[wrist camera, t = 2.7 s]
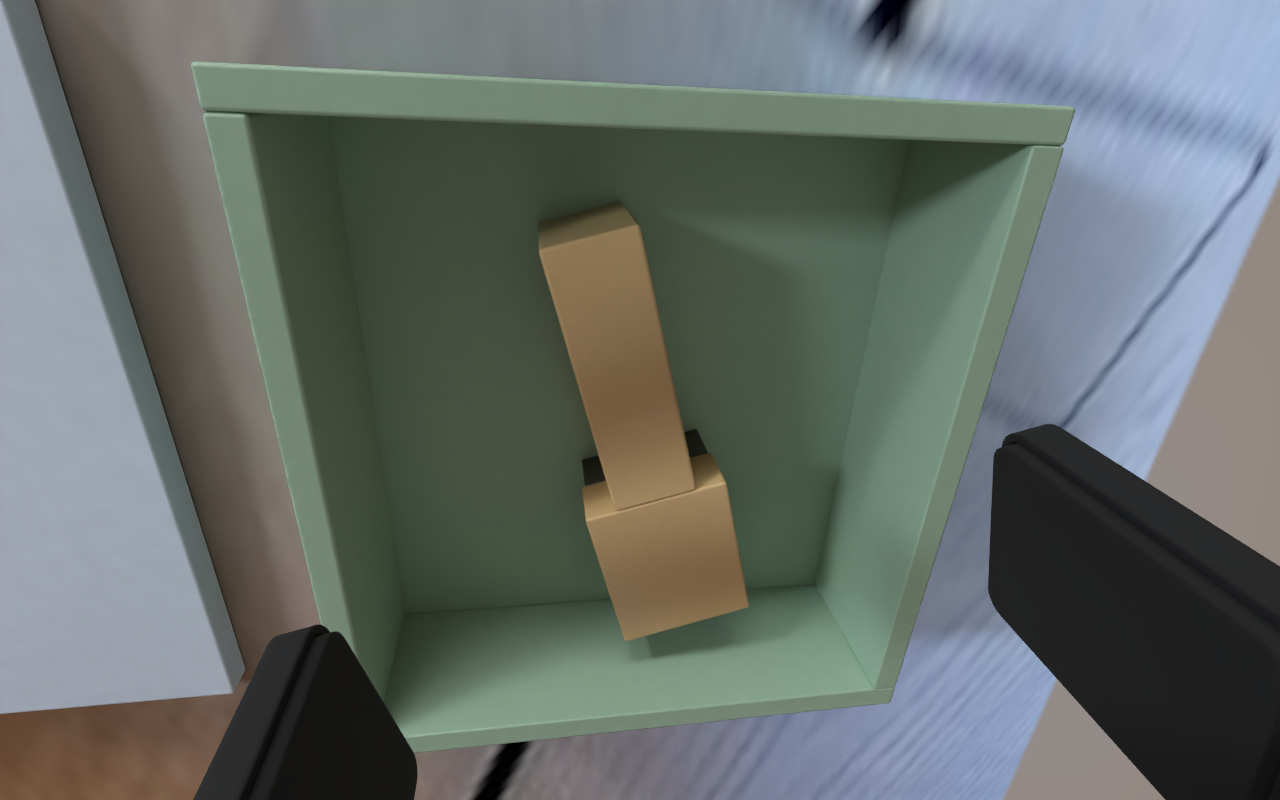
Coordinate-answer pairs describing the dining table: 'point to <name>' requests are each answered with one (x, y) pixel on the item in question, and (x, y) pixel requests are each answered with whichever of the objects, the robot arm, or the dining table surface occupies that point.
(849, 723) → the dining table surface
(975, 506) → the dining table surface
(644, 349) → the brush
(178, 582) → the mat
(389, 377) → the basket
